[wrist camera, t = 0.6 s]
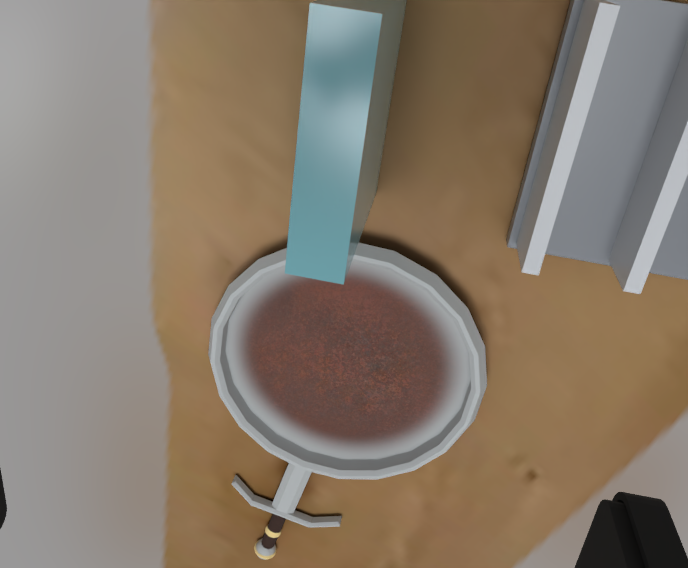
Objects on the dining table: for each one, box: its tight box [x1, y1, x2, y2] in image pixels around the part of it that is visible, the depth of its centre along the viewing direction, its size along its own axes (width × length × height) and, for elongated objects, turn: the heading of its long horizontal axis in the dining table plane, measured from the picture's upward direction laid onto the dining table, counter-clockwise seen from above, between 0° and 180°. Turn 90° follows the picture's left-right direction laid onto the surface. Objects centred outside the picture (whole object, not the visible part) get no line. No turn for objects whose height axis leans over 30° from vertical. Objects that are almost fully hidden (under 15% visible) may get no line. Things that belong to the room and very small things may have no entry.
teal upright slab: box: [285, 0, 407, 285], centre depth 28 cm, size 10×2×11 cm, turn 173°
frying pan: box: [208, 243, 487, 559], centre depth 42 cm, size 17×3×28 cm
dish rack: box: [506, 0, 688, 294], centre depth 30 cm, size 13×11×4 cm
